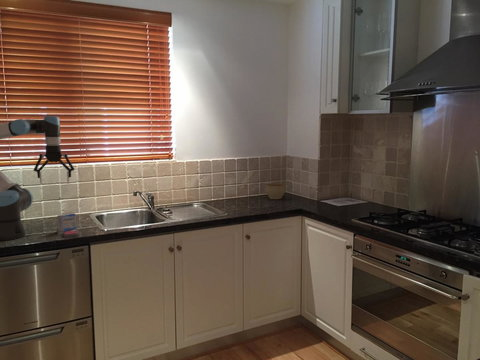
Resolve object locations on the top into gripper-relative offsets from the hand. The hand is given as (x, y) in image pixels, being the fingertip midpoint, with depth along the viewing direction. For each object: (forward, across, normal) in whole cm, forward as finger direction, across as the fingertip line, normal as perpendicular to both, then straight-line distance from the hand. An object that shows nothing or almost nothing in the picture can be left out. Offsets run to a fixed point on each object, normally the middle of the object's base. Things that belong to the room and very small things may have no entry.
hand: (54, 183), depth 228 cm
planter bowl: (+23, +150, +44) cm, 158 cm away
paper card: (+25, +6, -6) cm, 27 cm away
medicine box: (+25, +6, -6) cm, 26 cm away
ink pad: (+25, +8, -16) cm, 31 cm away
